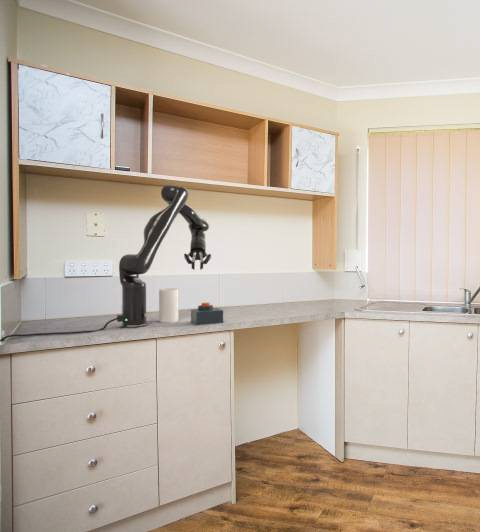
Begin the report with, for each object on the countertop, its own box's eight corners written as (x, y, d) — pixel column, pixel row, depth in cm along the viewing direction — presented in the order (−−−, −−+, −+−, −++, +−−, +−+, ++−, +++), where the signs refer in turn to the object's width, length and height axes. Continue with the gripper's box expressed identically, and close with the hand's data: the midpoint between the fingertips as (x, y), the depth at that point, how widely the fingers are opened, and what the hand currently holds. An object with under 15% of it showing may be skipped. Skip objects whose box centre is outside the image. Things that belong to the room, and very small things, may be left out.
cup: (162, 319, 199) (162, 288, 198) (180, 319, 200) (180, 288, 200) (156, 322, 191) (156, 289, 190) (174, 322, 192) (174, 289, 192)
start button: (202, 307, 193) (202, 303, 193) (200, 306, 196) (200, 302, 196) (210, 306, 195) (210, 303, 195) (208, 305, 198) (208, 302, 198)
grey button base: (196, 325, 186) (196, 308, 185) (190, 321, 194) (190, 305, 194) (223, 322, 193) (223, 306, 193) (216, 319, 202) (216, 304, 202)
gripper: (183, 240, 214) (182, 263, 203) (211, 241, 220) (211, 263, 209) (184, 250, 219) (182, 273, 208) (211, 250, 225) (211, 273, 214)
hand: (197, 268), depth 209 cm, fingers open, 3 cm apart
